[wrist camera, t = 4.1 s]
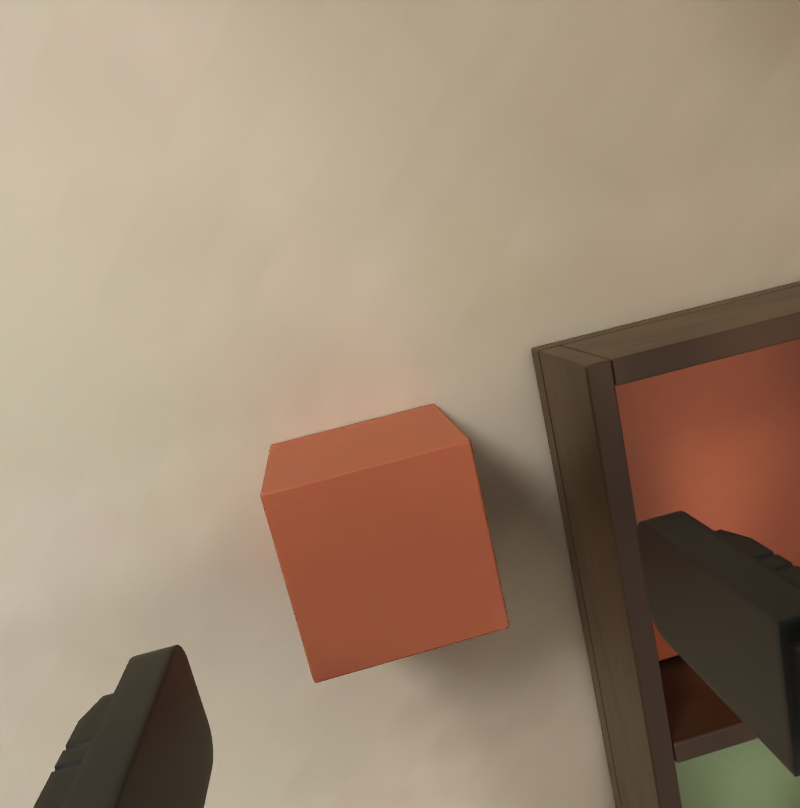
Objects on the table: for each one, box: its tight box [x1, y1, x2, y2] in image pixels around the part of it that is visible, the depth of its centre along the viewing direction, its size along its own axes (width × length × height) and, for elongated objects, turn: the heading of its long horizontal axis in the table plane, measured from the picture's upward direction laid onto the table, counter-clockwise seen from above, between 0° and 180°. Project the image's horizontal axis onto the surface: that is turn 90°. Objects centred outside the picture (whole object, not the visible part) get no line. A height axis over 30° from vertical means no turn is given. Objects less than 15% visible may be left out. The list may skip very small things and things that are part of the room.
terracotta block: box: [260, 404, 509, 683], centre depth 16 cm, size 4×4×4 cm
